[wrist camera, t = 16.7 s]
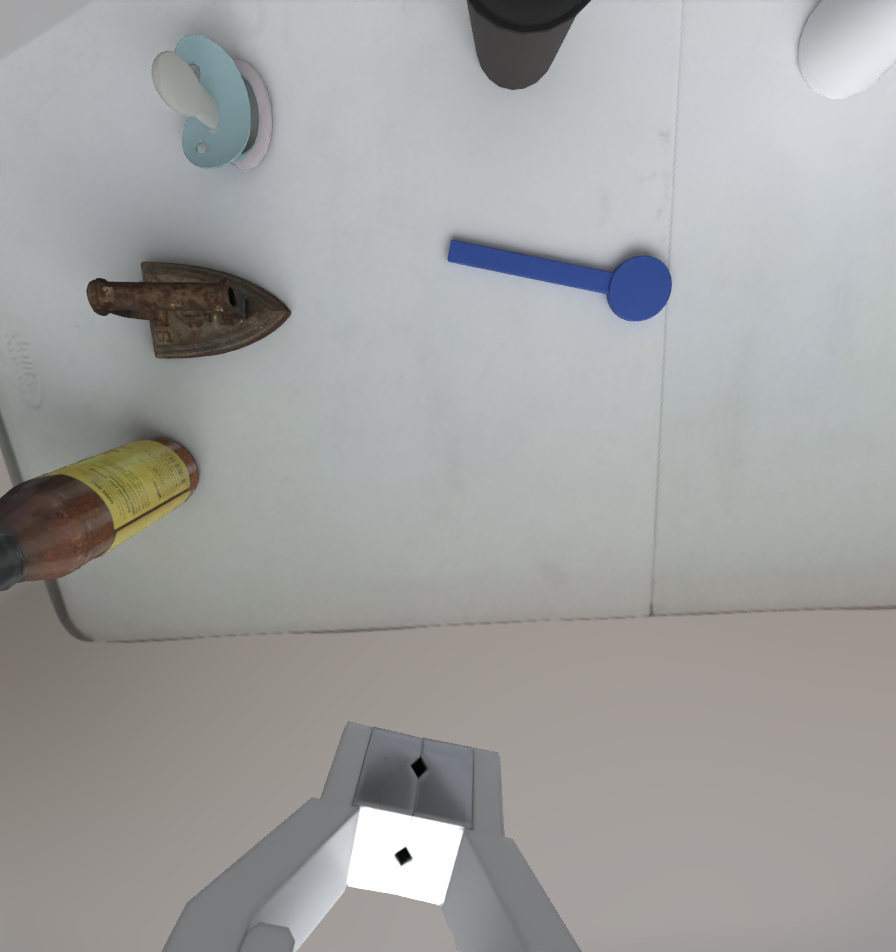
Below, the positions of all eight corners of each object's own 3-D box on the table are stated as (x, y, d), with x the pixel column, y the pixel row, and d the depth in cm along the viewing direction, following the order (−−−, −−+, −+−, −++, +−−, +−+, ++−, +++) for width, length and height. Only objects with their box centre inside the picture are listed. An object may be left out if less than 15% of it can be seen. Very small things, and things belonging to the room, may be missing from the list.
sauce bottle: (137, 424, 40) (-171, 505, 21) (209, 449, 40) (-30, 552, 21) (126, 494, 42) (-167, 627, 23) (195, 517, 42) (-37, 668, 23)
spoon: (444, 283, 36) (443, 281, 35) (455, 218, 34) (455, 215, 33) (656, 326, 36) (660, 326, 35) (676, 263, 34) (680, 262, 34)
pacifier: (272, 57, 32) (183, 54, 32) (229, -7, 26) (121, -10, 26) (279, 180, 34) (196, 177, 34) (241, 147, 28) (140, 144, 28)
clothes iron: (139, 264, 37) (62, 220, 27) (292, 270, 39) (271, 230, 29) (150, 358, 38) (80, 348, 28) (298, 358, 40) (280, 349, 30)
